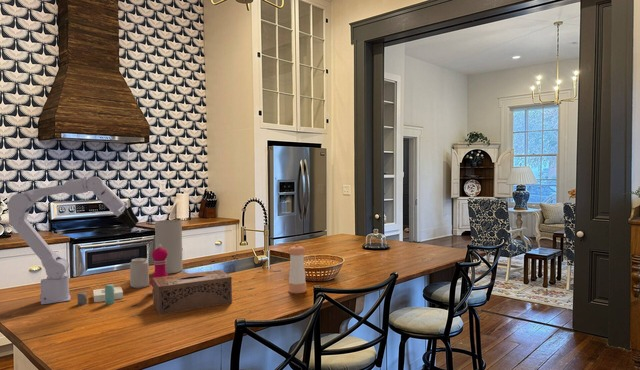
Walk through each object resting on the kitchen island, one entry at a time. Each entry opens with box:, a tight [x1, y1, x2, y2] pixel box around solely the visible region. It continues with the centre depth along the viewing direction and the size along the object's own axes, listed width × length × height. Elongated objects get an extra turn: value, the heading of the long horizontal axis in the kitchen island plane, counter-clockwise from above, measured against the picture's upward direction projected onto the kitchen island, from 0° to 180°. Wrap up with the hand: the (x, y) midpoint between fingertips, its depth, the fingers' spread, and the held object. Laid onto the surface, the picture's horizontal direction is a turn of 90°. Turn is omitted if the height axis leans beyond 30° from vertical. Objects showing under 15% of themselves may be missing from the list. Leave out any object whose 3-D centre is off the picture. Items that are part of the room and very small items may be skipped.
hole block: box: [92, 286, 124, 303], centre depth 169 cm, size 10×10×2 cm
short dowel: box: [76, 292, 88, 306], centre depth 160 cm, size 3×3×4 cm
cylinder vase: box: [154, 219, 184, 275], centre depth 213 cm, size 12×12×25 cm
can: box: [129, 257, 150, 289], centre depth 185 cm, size 8×8×12 cm
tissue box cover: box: [152, 269, 233, 316], centre depth 160 cm, size 26×14×10 cm, turn 119°
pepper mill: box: [150, 244, 169, 295], centre depth 174 cm, size 7×7×20 cm
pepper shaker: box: [287, 243, 307, 294], centre depth 175 cm, size 7×7×19 cm
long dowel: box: [104, 283, 115, 306], centre depth 160 cm, size 3×3×7 cm
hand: (135, 224), depth 176 cm, fingers open, 7 cm apart
